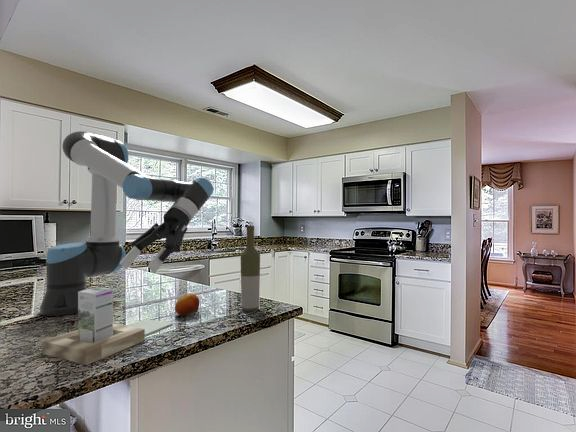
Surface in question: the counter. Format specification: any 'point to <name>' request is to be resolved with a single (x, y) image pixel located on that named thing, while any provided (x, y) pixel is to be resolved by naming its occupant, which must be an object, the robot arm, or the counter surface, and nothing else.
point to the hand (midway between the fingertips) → (136, 267)
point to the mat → (150, 325)
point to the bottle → (250, 274)
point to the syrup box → (95, 314)
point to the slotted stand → (92, 345)
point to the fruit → (187, 305)
